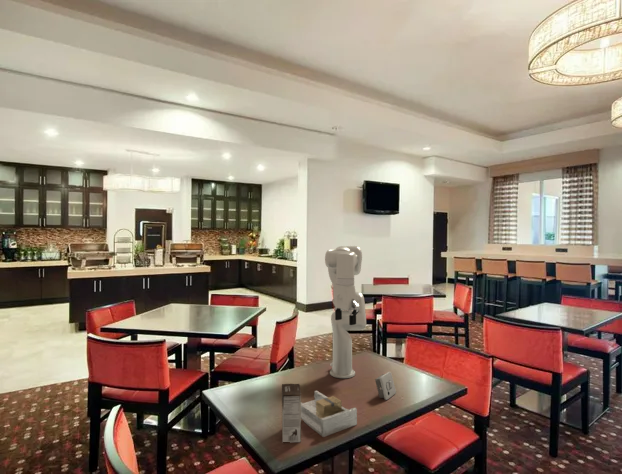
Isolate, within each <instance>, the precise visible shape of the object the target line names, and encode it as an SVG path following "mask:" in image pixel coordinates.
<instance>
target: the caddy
mask: <svg viewBox="0 0 622 474" xmlns="http://www.w3.org/2000/svg"><path fill="white" fill-rule="evenodd" d="M313 393H314V395H313V397H314V399H313V400H312V399H311V400H310V401H307V402H301V419H302V420H303V421H304V422H303V421H302V420H301V421H302V422H303V423H305V424H306V425H307V426H309V428H311V429H312V430H313V431H315V432H316V433H317V434H319V436H321V437H323V438H325V437H327V436H330V435H333V434H335V433H339V432H341V431H344V430H348V429H349V428H352V427H355V426H357V425H358V409H357V407H352V408H345V407H344V406H342V412H340V413H337V414H334V415H331V416H328V417H325V418H322V417H321V416H320V415H318V414H317V413H316V401H318V400H321V399H324V398H328V396H326V395H325V394H324V393H322V392H319V391H318V390H314V392H313Z"/></svg>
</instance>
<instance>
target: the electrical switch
mask: <svg viewBox="0 0 622 474" xmlns="http://www.w3.org/2000/svg"><path fill="white" fill-rule="evenodd" d="M374 380H375V381H374V382H375V384H376V390H377V393H378V397H379V398H380V399H384V401H388V400H389V399H390V398H391V397H394V396H395V395H396V394H397V390H396V387H395V386H396V385H395V382H394V378H393V374H392V372H391V371H387V372H386V373H384V374H383V373H382V374H381V375H380V376H378V377H376V378H375V379H374Z"/></svg>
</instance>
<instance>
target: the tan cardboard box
mask: <svg viewBox="0 0 622 474" xmlns="http://www.w3.org/2000/svg"><path fill="white" fill-rule="evenodd" d="M327 397H328V396H327ZM342 402H343V401H342V400H341V399H339V398H338V397H337V396H334V395H332V396H329V397H328V398H324V399H321V400H318V401H316V413H317V414H318V415H320V416H321V417H322V418H325V417H328V416H331V415H334V414H337V413H340V412H342Z"/></svg>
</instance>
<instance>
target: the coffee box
mask: <svg viewBox="0 0 622 474" xmlns="http://www.w3.org/2000/svg"><path fill="white" fill-rule="evenodd" d="M301 403H302V391H301V385H300V383H282V384H281V431H282V432H281V434H282V435H281V436H282V443H283V442H290V443H301V442H302V420H301Z"/></svg>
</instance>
